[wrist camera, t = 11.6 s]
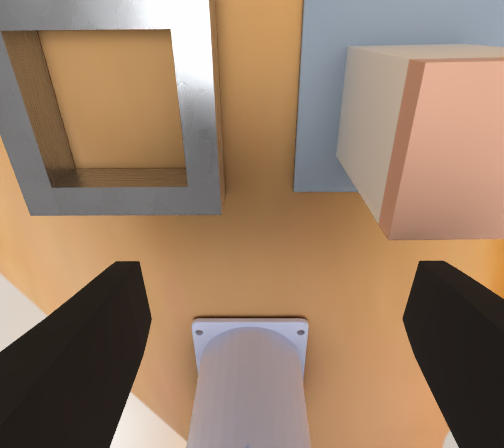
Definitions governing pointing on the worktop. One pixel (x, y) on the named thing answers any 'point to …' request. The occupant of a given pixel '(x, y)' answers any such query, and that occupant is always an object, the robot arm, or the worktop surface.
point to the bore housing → (52, 130)
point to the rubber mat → (367, 34)
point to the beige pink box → (426, 138)
